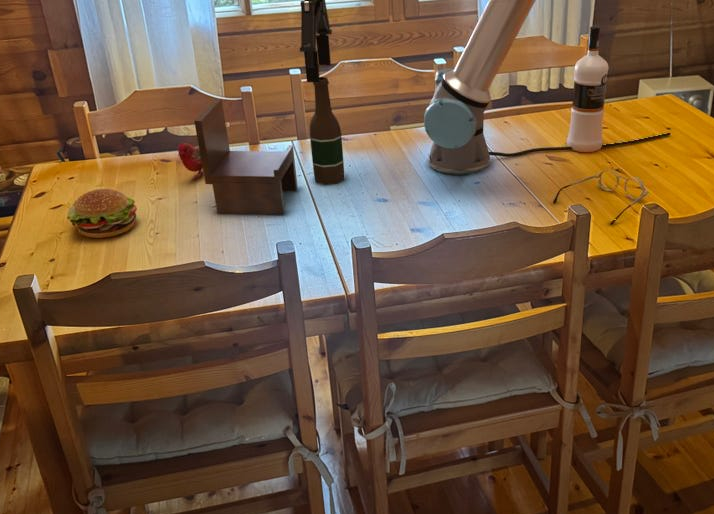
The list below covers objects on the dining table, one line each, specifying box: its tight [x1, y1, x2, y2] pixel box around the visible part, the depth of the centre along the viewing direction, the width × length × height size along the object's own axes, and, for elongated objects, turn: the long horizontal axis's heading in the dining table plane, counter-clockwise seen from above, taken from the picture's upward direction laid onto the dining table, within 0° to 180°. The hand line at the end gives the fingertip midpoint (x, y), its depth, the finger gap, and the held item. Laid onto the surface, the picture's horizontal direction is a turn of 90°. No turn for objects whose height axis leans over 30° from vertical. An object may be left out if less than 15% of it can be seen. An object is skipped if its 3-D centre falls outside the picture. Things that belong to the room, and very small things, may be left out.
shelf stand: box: [193, 98, 299, 216], centre depth 182 cm, size 16×15×21 cm
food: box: [66, 188, 138, 239], centre depth 174 cm, size 14×14×8 cm
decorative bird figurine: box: [177, 142, 203, 180], centre depth 199 cm, size 3×18×10 cm, turn 165°
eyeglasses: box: [552, 168, 650, 225], centre depth 182 cm, size 17×15×5 cm
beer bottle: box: [309, 76, 345, 186], centre depth 191 cm, size 8×8×24 cm
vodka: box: [566, 25, 610, 153], centre depth 205 cm, size 9×9×30 cm
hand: (319, 73), depth 184 cm, fingers open, 13 cm apart
